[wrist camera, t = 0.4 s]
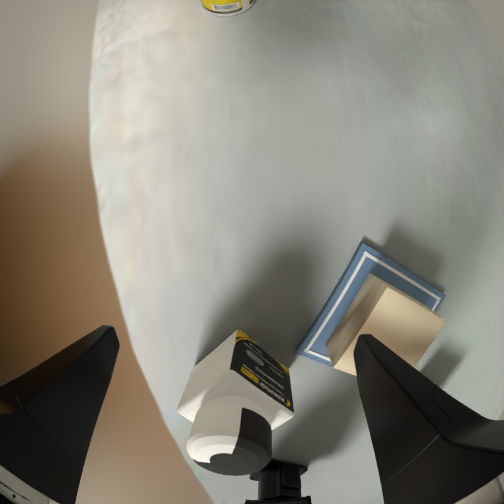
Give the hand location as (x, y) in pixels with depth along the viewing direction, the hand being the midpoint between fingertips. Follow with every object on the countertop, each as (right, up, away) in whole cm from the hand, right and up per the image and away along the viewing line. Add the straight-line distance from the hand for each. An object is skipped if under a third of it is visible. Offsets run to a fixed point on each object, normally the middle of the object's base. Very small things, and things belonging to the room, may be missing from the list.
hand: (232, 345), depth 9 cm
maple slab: (+13, -4, +15) cm, 20 cm away
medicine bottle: (0, -9, +17) cm, 19 cm away
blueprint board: (+13, -4, +15) cm, 21 cm away
